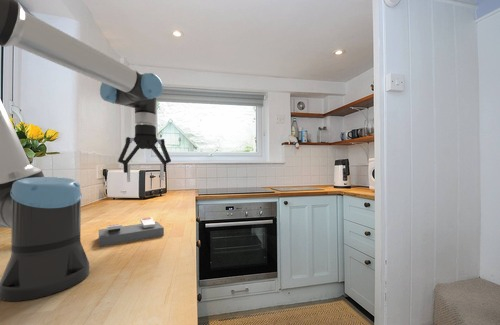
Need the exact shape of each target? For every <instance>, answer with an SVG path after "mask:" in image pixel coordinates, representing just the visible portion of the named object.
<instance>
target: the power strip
mask: <svg viewBox="0 0 500 325" xmlns="http://www.w3.org/2000/svg"><path fill="white" fill-rule="evenodd" d="M154 222H155V226H154V227H147V228H143V225H142V223H139V224H138V223H137V224H130V225H124V226H122V228H118V229H111V230H108V229H107V228H101V229H98V245H99V246H98V247H99V248H101V247H107V246H113V245H118V244H119V245H120V244H124V243H130V242H135V241H140V240H146V239H152V238H158V237H163V236H165V235H164V234H165V233H164V226H162V225H161V224H160V223H159V222H157V221H154Z"/></svg>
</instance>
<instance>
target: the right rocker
mask: <svg viewBox="0 0 500 325" xmlns="http://www.w3.org/2000/svg"><path fill="white" fill-rule="evenodd" d="M139 221H140V224H142V225H143V228H147V227H154V226H155V222H156V221H155V220H154V219H153V217H152V216H147V217H141V218H140V220H139Z"/></svg>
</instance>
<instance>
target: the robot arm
mask: <svg viewBox="0 0 500 325" xmlns="http://www.w3.org/2000/svg"><path fill="white" fill-rule="evenodd" d="M0 46H1V47H4V48H6V47H11V46H13V47H16V48H19V49H20V50H23V51H26V52H28V53H30V54H33V55H35V56H37V57H40V58H43V59H45V60H48V61H50V62H51V63H54V64H57V65H59V66H61V67H64V68H67V69H68V70H72V71H74V72H77V73H79V74H81V75H83V76H85V77H87V78H91V79H93V80H95V81H97V82H100V83H101V84H100V88H99V95H100V97H101V99H102V100H103V101H105V102H107V103H112V104H115V105H119V106H124V107H129V108H133V109H134V124H135V126H134V137H129V136H127V137H125V144H124V146H123V148H122V150H121V152H120V155H119V158H118V160H117V162H118V163H121V164H123V173H124V174H125V173H126V182H127V183H129V182H131V164H129V163H130V161H131V160H132V159H133V157H134V156H135V154H136V153H137V152H138V151H139V149H140V150H145V149H146V150H152V152H153V153H154V154H155V156H156V157H157V158H158V160H159V161H160V162H161V163H160V165H159V173H160V174H159V180H160V181H165V175H164V174H165V173H166V172H167V164H169V163H171V162H172V159H171V158H170V154H169V152H168V150H167V148H166V145H165V143H166V142H165V139H164V138H162V139H160V138H157V127H156V125H157V98H158V97H161V95H162V93H163V89H164V86H163V82H162V80H161V78H160V77H159V76H158V75H156V74H155V73H152V72H148V73H147V72H145V73H141V72H140V71H137V70H136V69H134V68H132V67H130V66H128V65H126V64H124V63H123V62H120V61H119V60H117V59H115V58H113V57H111V56H109V55H107V54H105V53H103V52H101V51H100V50H98V49H96V48H94V47H92V46H90V45H89V44H86V43H85V42H83V41H81V40H79V39H77V38H75V37H74V36H72V35H70V34H68V33H66V32H64V31H62V30H60V29H59V28H57V27H55V26H52V25H51V24H49V23H48V22H46V21H43V19H40V18H38V17H36V16H34V15H32V14H30V13H29V12H26V11H25V10H24V9H23V6H22V5H21V3H20V2H19V1H17V0H0ZM133 142H134V144H136V145H135V146H134V148H133V149H132V151H131V152H130V154H128V156H127V157H126V158H125V156H126V153H127V152H128V149H129V147H130V144H132V143H133ZM157 143H158V145H159V147H160V149H161V151H162V153H163V155H162V154H161V152H160V151H159V149H158V148H157V146H156V144H157ZM23 147H24V146H22V143H21V141H20V138H19V136H18V134H17V132H16V130H15V128H14V125H13V123H12V121H11V119H10V117H9V115H8V112H7V110H6V108H5V106H4V104H3V101H2V99H1V98H0V226H2V227H4V228H8V229H9V228H10V229H11V230H10V231H11V236H10V238H11V239H10V240H11V241H10V242H11V253H10V258H9V259H8V261H7V262H8V263H6V264H7V265H6V267H5V269H4V271H3V274H2V276H1V278H0V300H3V301H5V302H6V301H7V302H18V301H27V300H28V301H29V300H34V299H39V298H43V297H46V296H50V295H54V294H57V293H59V292H62V291H64V290H66V289H69V288H71V287H73V286H75V285H77V284H79V283H81V282H82V281H83V280H85V279H86V278H87V277H88V276H89V274H90V261H89V259H88V257H87V254H86V252H85V249H84V246H83V245H82V242H81V217H82V216H81V215H82V214H81V213H82V212H81V211H82V209H81V208H82V207H81V206H82V192H81V184H80V183H79V182H78V181H77V180H76V179H73V178H69V177H57V176H45V175H44V173H43V170H42V169H41V168H40V167H36V166H33V165H32V164H31V163H30V162H31V161H29V158H28V156H27V154H26V152H25V149H24V148H23Z"/></svg>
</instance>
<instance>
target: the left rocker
mask: <svg viewBox="0 0 500 325" xmlns="http://www.w3.org/2000/svg"><path fill="white" fill-rule="evenodd" d="M118 228H122V224H121V223H120V224H119V223H118V224H117V223H116V224H110V225H107V227H106V229H108V230H111V229H118Z"/></svg>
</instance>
